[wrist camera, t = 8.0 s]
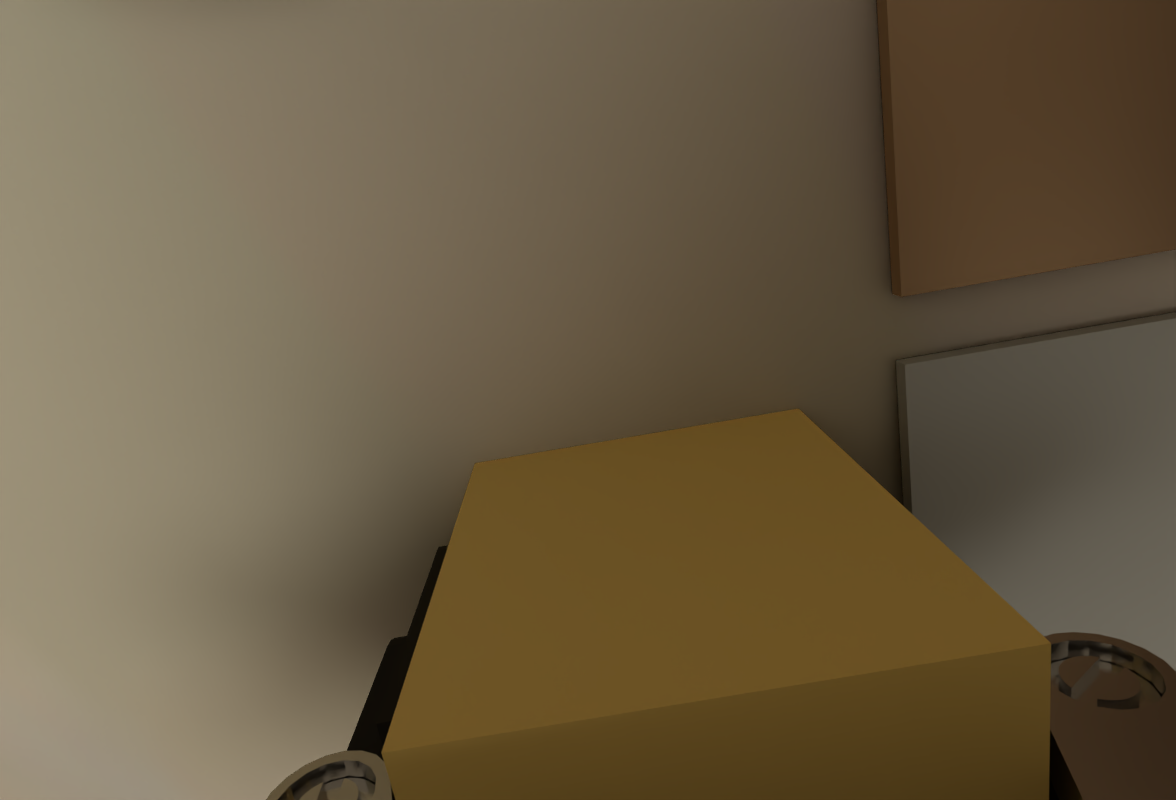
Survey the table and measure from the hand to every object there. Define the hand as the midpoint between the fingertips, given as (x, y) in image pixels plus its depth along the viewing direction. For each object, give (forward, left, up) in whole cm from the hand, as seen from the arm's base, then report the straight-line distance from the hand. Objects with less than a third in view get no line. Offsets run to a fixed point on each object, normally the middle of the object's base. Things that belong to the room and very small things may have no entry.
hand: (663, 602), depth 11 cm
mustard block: (0, 0, -1) cm, 1 cm away
